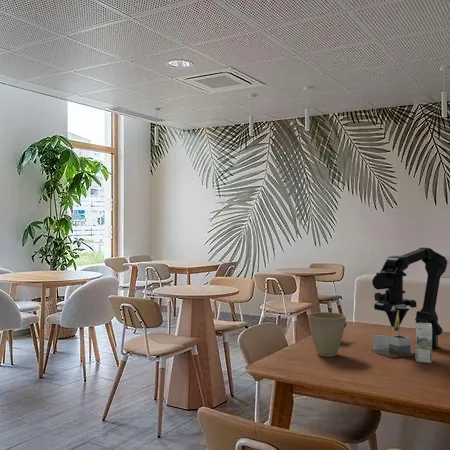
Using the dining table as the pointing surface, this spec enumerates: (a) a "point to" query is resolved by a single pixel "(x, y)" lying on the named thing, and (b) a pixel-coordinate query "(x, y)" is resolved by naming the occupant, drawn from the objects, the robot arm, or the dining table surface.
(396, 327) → the hinge pin
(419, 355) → the syrup box
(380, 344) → the hinge
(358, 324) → the dining table surface
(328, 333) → the plant pot
